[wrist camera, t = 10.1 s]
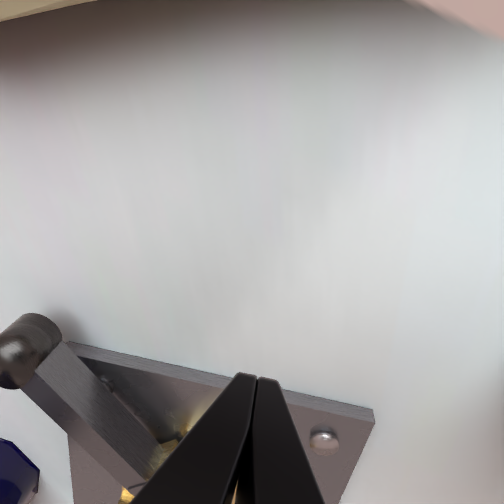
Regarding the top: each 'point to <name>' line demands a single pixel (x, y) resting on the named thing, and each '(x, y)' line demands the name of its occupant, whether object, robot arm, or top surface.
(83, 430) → the lever handle
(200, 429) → the robot arm
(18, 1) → the rolling pin
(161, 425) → the flange plate
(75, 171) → the top surface
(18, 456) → the bottle
